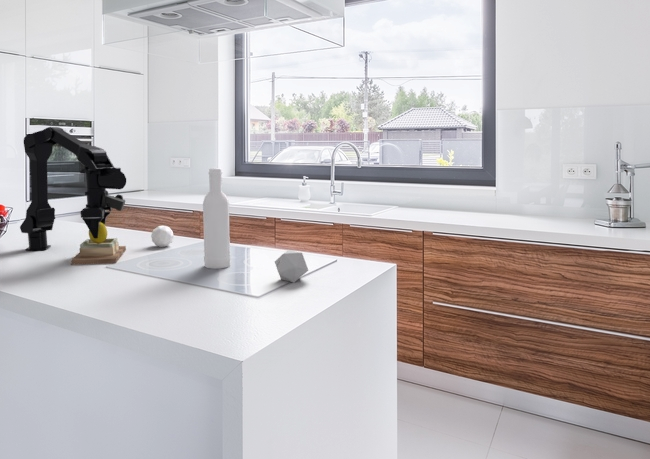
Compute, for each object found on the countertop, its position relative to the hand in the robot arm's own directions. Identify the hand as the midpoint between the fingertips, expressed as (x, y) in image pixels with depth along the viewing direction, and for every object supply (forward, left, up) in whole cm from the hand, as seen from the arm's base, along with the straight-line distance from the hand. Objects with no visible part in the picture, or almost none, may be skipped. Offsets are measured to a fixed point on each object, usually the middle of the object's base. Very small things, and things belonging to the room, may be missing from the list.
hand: (98, 235), depth 170 cm
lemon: (0, 0, -3) cm, 3 cm away
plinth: (0, 0, -7) cm, 7 cm away
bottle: (+19, +38, -7) cm, 43 cm away
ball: (-15, +19, -7) cm, 25 cm away
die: (+39, +58, -7) cm, 70 cm away
